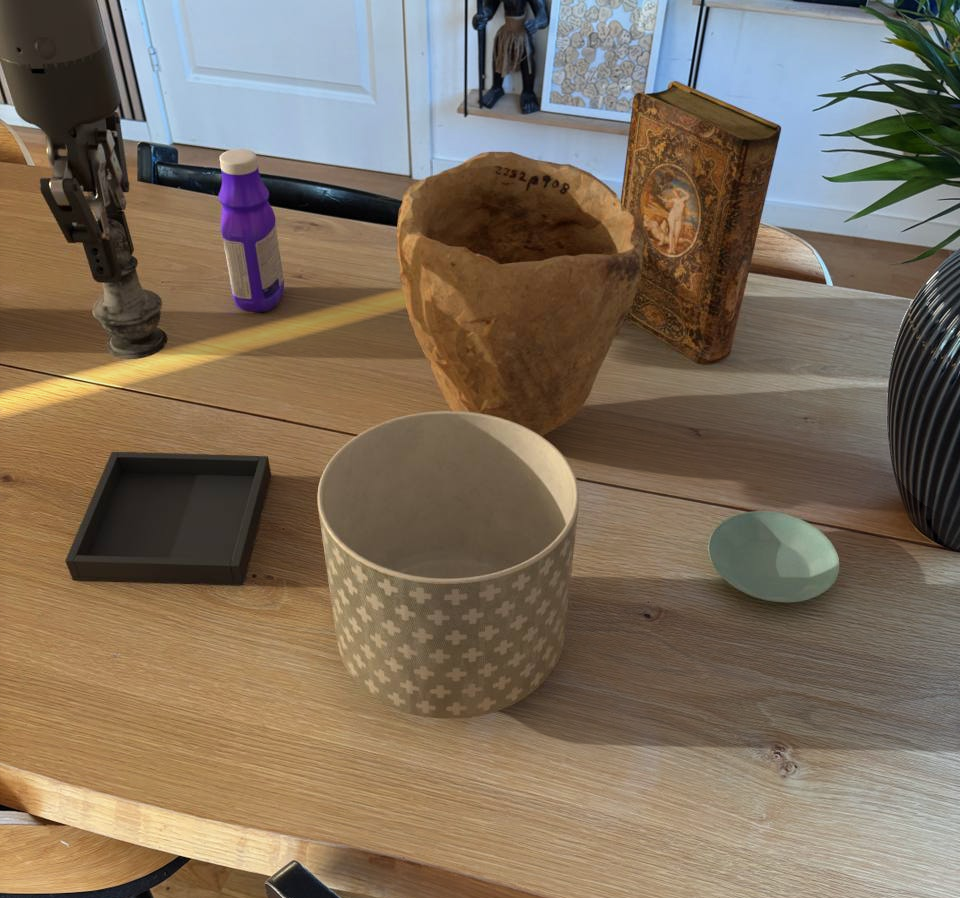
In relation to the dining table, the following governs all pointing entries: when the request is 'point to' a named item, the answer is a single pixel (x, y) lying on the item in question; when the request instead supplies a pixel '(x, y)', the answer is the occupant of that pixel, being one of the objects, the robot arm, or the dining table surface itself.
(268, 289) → the bottle
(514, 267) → the tan textured vessel
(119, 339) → the chess piece
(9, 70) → the robot arm
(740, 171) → the book
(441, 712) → the planter
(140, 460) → the tray
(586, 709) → the dining table surface
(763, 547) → the saucer
